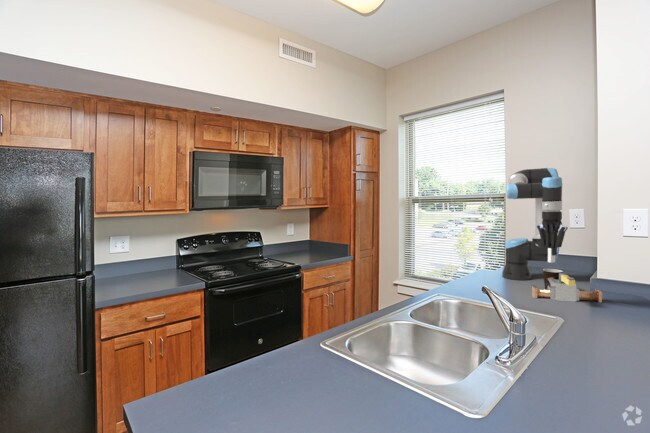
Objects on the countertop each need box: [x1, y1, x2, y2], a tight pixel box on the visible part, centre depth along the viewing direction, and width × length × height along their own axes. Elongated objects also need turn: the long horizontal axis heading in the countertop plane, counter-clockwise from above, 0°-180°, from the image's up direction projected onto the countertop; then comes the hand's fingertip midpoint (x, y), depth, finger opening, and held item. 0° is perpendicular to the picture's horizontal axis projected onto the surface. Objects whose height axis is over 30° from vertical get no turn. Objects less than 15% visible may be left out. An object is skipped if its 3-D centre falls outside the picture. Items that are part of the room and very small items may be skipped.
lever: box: [559, 272, 576, 286], centre depth 151 cm, size 13×3×4 cm, turn 160°
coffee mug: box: [542, 268, 572, 289], centre depth 170 cm, size 12×9×10 cm
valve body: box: [531, 279, 603, 303], centre depth 156 cm, size 8×26×8 cm, turn 70°
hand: (551, 262), depth 153 cm, fingers closed
